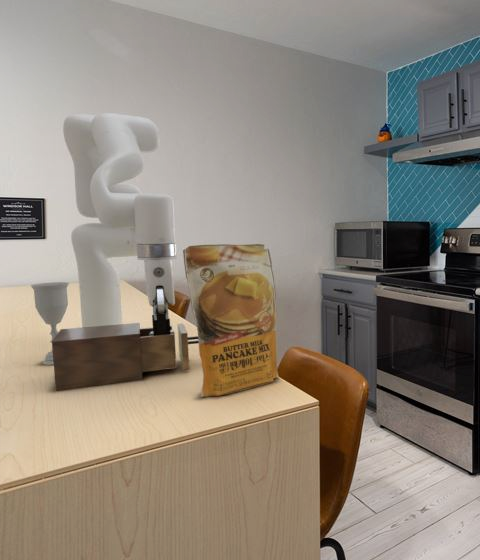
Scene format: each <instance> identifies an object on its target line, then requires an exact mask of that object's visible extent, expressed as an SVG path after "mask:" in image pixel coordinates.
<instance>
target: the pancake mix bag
mask: <svg viewBox="0 0 480 560" xmlns="http://www.w3.org/2000/svg"><path fill="white" fill-rule="evenodd" d="M269 249H270V248H265V244H261V243H255V244H254V243H252V244H230V243H229V244H228V243H227V244H226V243H225V244H224V243H223V244H222V243H221V244H220V243H219V244H218V243H217V244H197V245H188V246H187V247H186V248H184V249H183V250H182V254H183V264H184V265H183V266H184V272H185V273H184V274H185V278H186V281H187V285H188V293H189V298H190V299H189V300H190V305H191V311H192V314H193V318H194V322H195V326H196V330H197V336H198V339H197V340H198V342H199V343H198V352H199V357H200V361H201V366H202V386H201V392H200V398H203V397H219V396H221V397H222V396H226V395H228V394H234V393H238V392H242V391H245V390H249V389H253V388H257V387H261V386H265V385H269V384H271V383H273V382H274V380H275V379H277V378H280V375H279V372H278V367H277V366H278V365H277V363H278V362H277V361H278V337H277V330H278V329H277V327H278V326H277V324H278V323H277V321H278V319H277V317H278V315H277V292H276V284H275V277H274V271H273V265H272V257H271V254H270V253H271V252H270V250H269Z"/></svg>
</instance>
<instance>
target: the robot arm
mask: <svg viewBox="0 0 480 560" xmlns="http://www.w3.org/2000/svg"><path fill="white" fill-rule="evenodd" d="M62 131H63V133H62V134H63V138H64V142H65V145H66V148H67V151H68V152H69V154H70V157H71V160H72V162H73V168H74V188H75V203H76V208H77V212H78V213H79V214H80V215H81V216H82V217H86V218H91V219H98V220H99V222H86V223H82V224H79V225H76V226H75V227H74V228H73V229H72V231H71V235H70V239H71V245H72V248H73V252H74V255H75V261H76V268H77V276H78V277H77V278H78V286H79V287H78V289H79V301H80V313H81V315H80V317H81V326H82V327H94V326H106V325H119V324H123V316H122V315H123V312H122V296H121V283H120V274H119V270H118V269H117V268H116V266H114V265H113V264H112V263H111V262H110V261H109V259H112V258H130V257H137V260H138V261H144V262H143V264H144V266H143V268H144V278H145V279H144V281H145V288H146V295H147V300H148V304H149V306H150V307H152V315H151V318H152V322H151V323H152V328H153V332H154V336H156V335H167V334H171V332H170V326H171V319H170V316H169V305H168V303H169V304H171V306H174V305H175V304H176V298H175V280H174V268H173V262H172V261H173V260H175V259H177V258H178V257H177V238H176V219H175V218H176V217H175V203H174V202H175V201H174V199H173V197H172V196H171V195H169V194H165V193H142V191H141V190H140V188H139V187H137V186H136V185H133V184H131V183H130V184H129V183H124V182H127V181H129V180H132V179H135V178H136V177H138V176H139V175H140V174H142V172H143V171H144V169H145V165H146V164H145V163H146V162H145V158H144V156H143V155H142V154H150V153H154V152H156V151H157V150H158V148H159V146H160V143H161V141H160V139H161V138H160V132H159V129H158V127H157V125H156V124H155V122H154V121H153V120H151V119H150V118H147V117H143V116H139V115H138V116H137V115H130V114H122V113H115V112H103V113H99V114H91V113H72V114H69V115H68V116H66V117H65V118H64V120H63V125H62ZM82 327H81V328H82Z"/></svg>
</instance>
